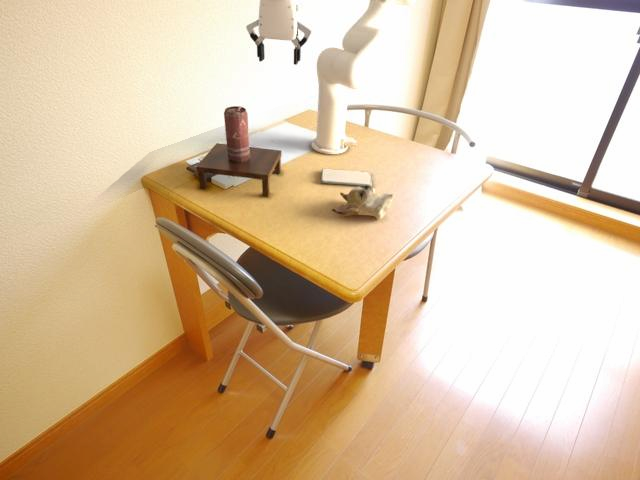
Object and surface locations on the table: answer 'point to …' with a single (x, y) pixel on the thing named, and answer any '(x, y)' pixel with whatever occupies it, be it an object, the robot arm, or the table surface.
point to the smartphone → (346, 177)
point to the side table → (240, 165)
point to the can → (237, 134)
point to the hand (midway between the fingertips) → (278, 61)
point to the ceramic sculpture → (365, 202)
